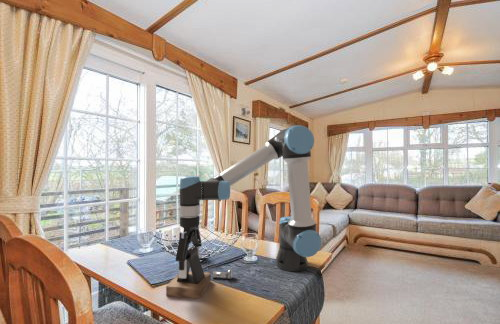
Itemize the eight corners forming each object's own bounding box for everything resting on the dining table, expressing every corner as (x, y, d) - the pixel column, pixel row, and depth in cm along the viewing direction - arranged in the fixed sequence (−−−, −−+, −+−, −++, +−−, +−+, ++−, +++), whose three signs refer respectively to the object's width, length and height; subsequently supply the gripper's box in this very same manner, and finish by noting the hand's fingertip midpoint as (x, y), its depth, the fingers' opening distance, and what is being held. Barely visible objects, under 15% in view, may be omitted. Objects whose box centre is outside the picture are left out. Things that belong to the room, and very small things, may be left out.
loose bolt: (232, 276, 108) (232, 267, 108) (230, 280, 104) (230, 271, 104) (214, 275, 109) (214, 266, 109) (211, 279, 105) (211, 270, 105)
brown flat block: (210, 281, 104) (210, 272, 104) (200, 298, 91) (200, 288, 91) (180, 279, 106) (180, 270, 106) (166, 295, 93) (166, 286, 93)
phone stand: (176, 281, 96) (176, 250, 96) (184, 274, 102) (184, 245, 102) (198, 284, 94) (198, 252, 94) (204, 277, 100) (204, 247, 100)
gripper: (192, 209, 111) (192, 256, 111) (165, 223, 86) (165, 284, 86) (208, 209, 110) (208, 257, 110) (186, 224, 85) (186, 286, 85)
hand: (189, 269), depth 98 cm, fingers open, 13 cm apart
